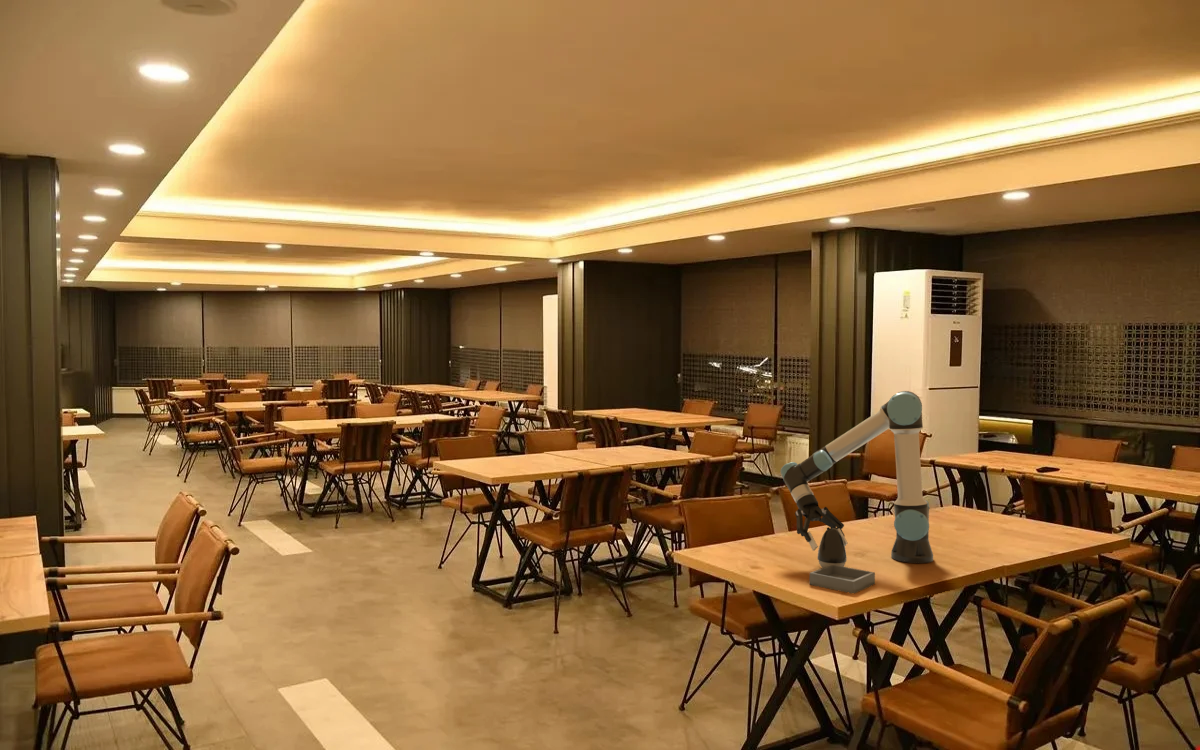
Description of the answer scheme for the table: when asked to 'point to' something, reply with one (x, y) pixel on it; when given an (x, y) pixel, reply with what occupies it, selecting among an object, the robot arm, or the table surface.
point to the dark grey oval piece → (832, 549)
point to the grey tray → (842, 578)
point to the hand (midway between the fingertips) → (830, 547)
